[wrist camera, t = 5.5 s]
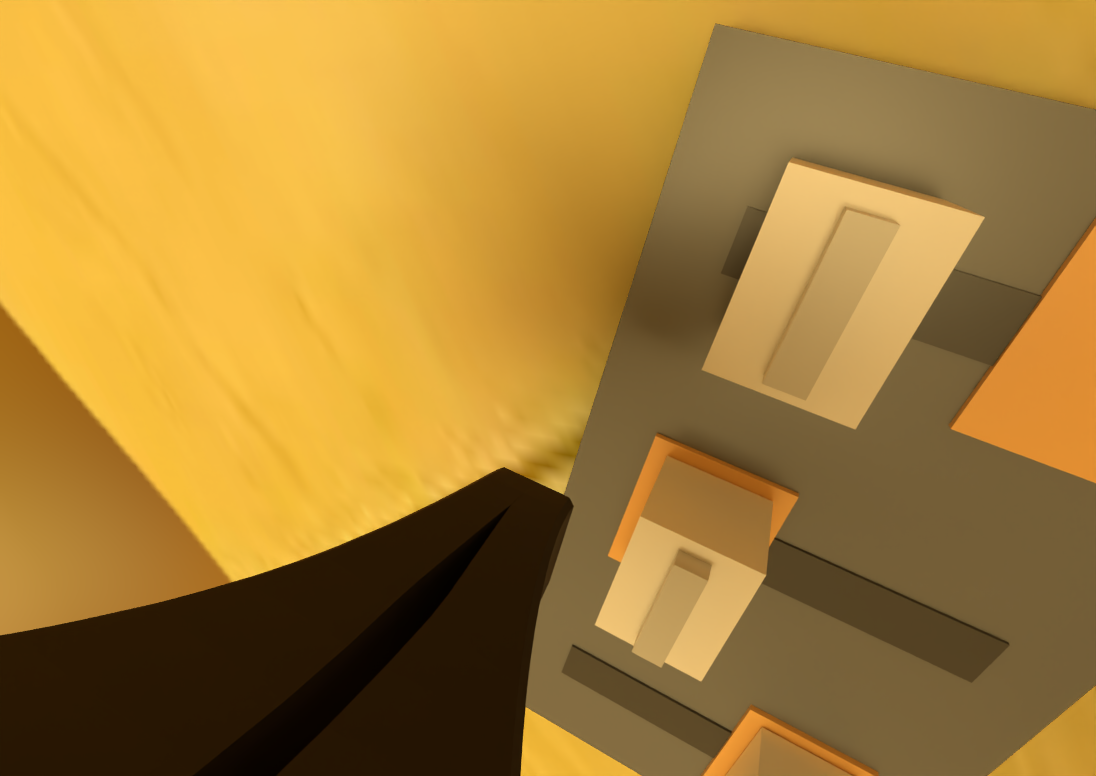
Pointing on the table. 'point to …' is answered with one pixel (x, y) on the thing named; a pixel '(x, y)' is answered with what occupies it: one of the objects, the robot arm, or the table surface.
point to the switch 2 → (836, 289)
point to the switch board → (854, 442)
